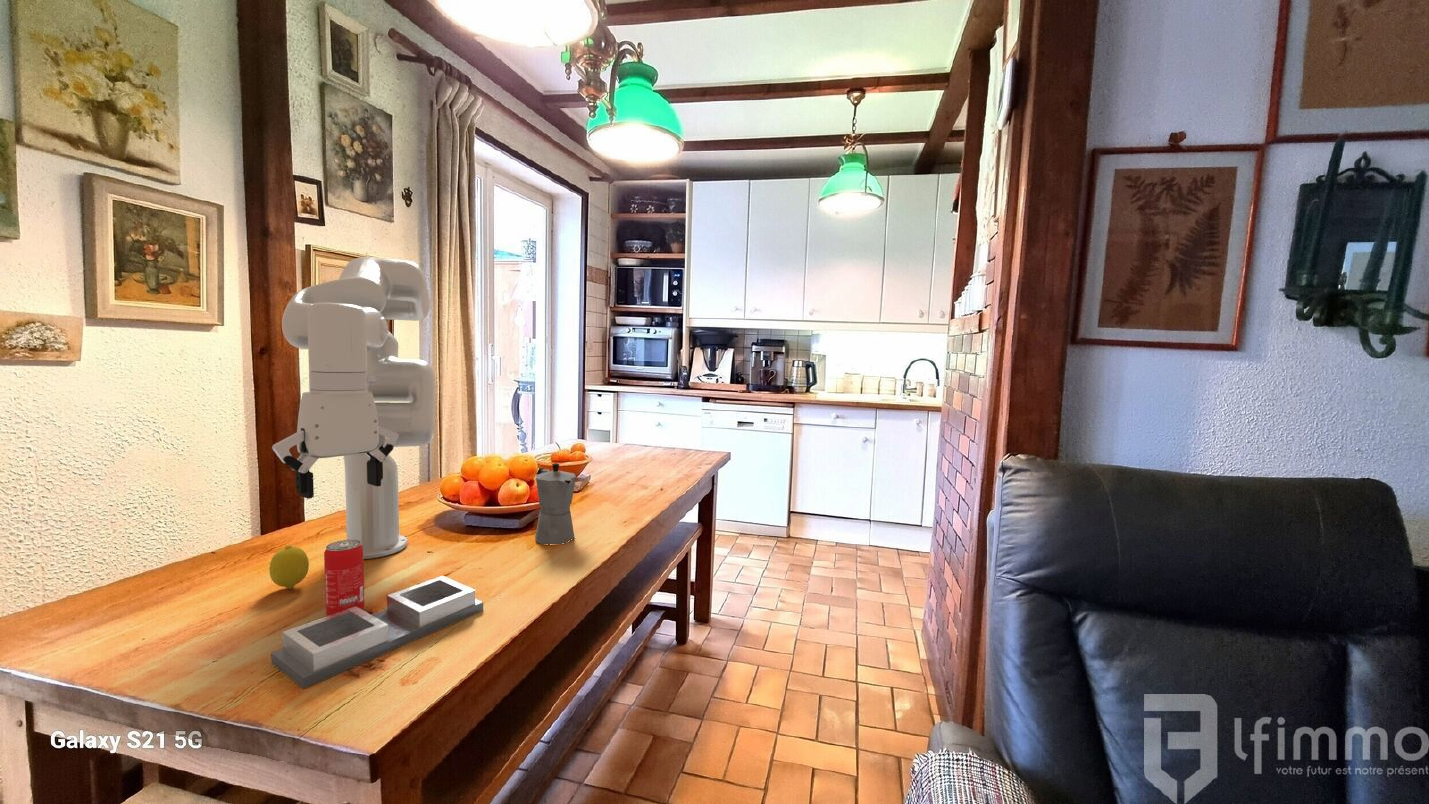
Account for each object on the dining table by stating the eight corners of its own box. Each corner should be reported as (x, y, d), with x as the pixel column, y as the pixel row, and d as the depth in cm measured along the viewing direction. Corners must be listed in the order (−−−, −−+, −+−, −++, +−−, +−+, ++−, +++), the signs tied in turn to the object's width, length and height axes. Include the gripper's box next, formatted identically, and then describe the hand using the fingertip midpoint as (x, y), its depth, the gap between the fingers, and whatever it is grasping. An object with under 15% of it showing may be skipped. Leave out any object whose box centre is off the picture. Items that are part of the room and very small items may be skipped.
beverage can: (323, 626, 85) (321, 552, 83) (329, 611, 89) (326, 541, 88) (362, 620, 87) (360, 548, 86) (366, 605, 92) (364, 537, 90)
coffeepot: (587, 542, 125) (588, 466, 123) (549, 551, 118) (550, 471, 117) (555, 524, 136) (555, 454, 134) (518, 532, 129) (519, 459, 128)
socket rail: (271, 662, 75) (270, 635, 74) (448, 594, 97) (448, 572, 96) (303, 689, 70) (302, 659, 69) (483, 610, 92) (483, 587, 91)
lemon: (316, 586, 98) (314, 543, 97) (281, 598, 93) (279, 553, 92) (298, 579, 100) (296, 537, 99) (263, 591, 95) (261, 547, 94)
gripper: (384, 380, 94) (386, 477, 95) (260, 383, 79) (265, 498, 80) (408, 383, 90) (409, 484, 91) (282, 386, 75) (286, 507, 76)
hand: (341, 490), depth 86 cm, fingers open, 9 cm apart
